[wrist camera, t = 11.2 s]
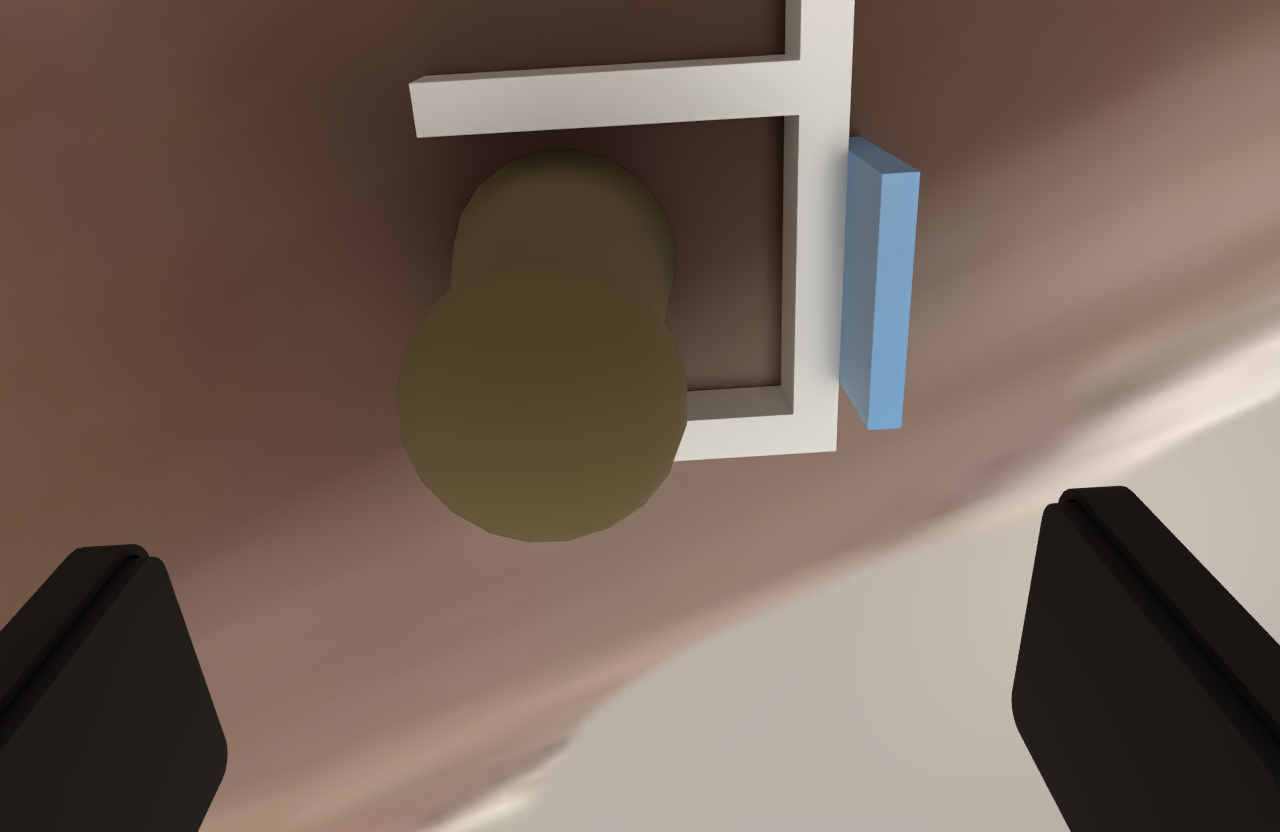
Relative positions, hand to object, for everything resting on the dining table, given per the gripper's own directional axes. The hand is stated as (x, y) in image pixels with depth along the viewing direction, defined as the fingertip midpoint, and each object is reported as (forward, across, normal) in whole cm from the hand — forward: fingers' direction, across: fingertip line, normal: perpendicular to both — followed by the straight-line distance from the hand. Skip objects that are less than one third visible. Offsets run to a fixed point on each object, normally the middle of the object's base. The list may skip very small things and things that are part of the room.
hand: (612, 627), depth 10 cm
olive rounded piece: (+17, +1, +1) cm, 17 cm away
